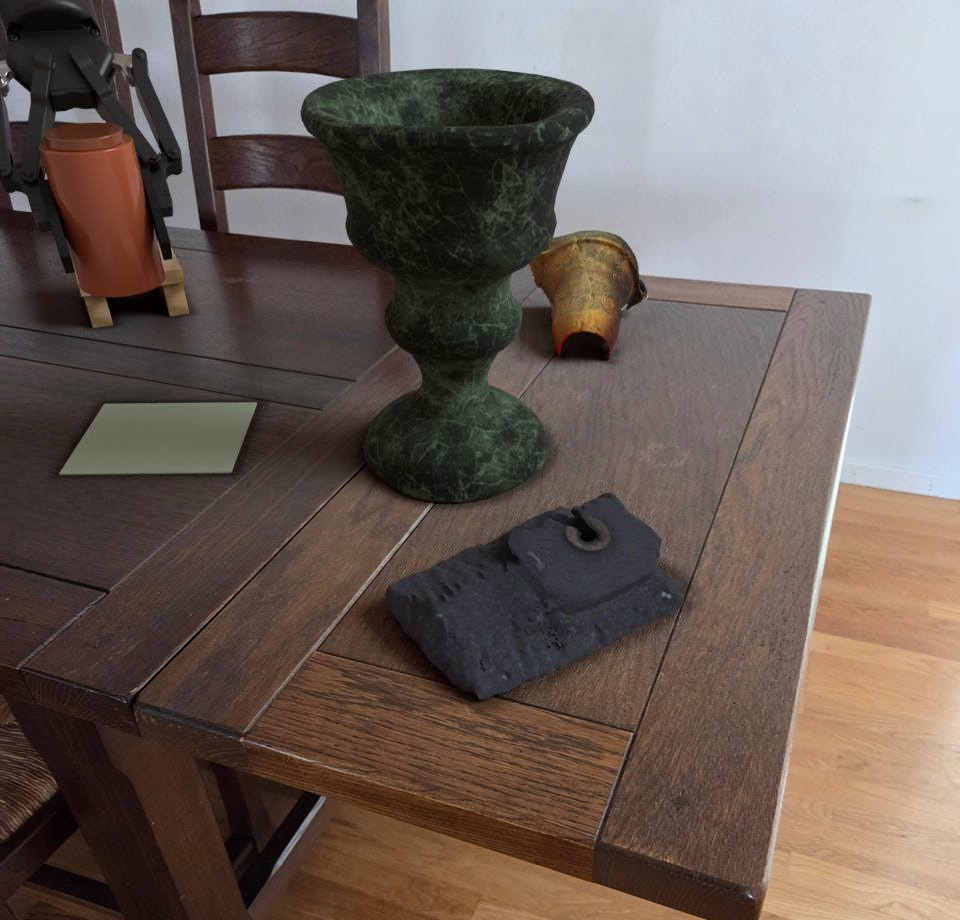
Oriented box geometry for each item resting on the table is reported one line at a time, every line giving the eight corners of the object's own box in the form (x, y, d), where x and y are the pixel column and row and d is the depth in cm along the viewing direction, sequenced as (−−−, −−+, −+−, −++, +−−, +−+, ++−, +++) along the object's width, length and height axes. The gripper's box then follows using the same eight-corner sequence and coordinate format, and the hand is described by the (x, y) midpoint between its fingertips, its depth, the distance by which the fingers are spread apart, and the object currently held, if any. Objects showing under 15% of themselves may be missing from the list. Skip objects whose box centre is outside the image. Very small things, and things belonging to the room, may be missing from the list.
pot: (521, 288, 94) (537, 184, 103) (489, 363, 103) (506, 263, 112) (669, 339, 97) (672, 234, 106) (625, 408, 107) (631, 306, 115)
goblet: (301, 492, 81) (241, 116, 61) (395, 385, 97) (373, 60, 77) (534, 535, 75) (553, 140, 55) (593, 415, 91) (624, 74, 71)
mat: (60, 477, 83) (58, 473, 82) (105, 407, 93) (104, 403, 93) (231, 475, 83) (231, 471, 83) (257, 405, 93) (257, 402, 93)
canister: (69, 298, 75) (20, 142, 68) (95, 268, 81) (53, 121, 73) (154, 297, 75) (115, 141, 68) (174, 267, 81) (140, 120, 73)
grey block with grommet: (359, 601, 69) (353, 551, 66) (577, 510, 78) (581, 462, 75) (472, 718, 60) (472, 667, 56) (704, 599, 69) (715, 549, 66)
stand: (92, 333, 107) (77, 283, 103) (84, 299, 116) (70, 251, 112) (192, 318, 111) (181, 268, 107) (178, 285, 119) (167, 239, 115)
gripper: (-107, -36, 67) (-26, 251, 67) (163, -46, 73) (239, 218, 73) (-75, 38, 75) (-2, 297, 74) (169, 23, 80) (238, 263, 80)
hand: (118, 257), depth 74 cm, fingers closed on canister, 7 cm apart
